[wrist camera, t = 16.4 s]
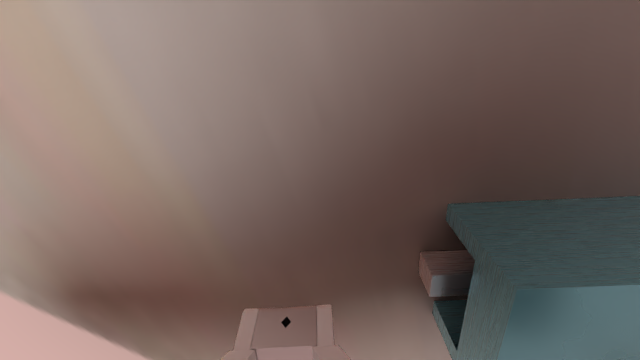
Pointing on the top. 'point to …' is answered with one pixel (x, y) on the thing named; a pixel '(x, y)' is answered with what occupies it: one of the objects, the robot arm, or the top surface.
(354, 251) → the top surface
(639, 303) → the teal storage bin
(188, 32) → the top surface
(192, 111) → the top surface
